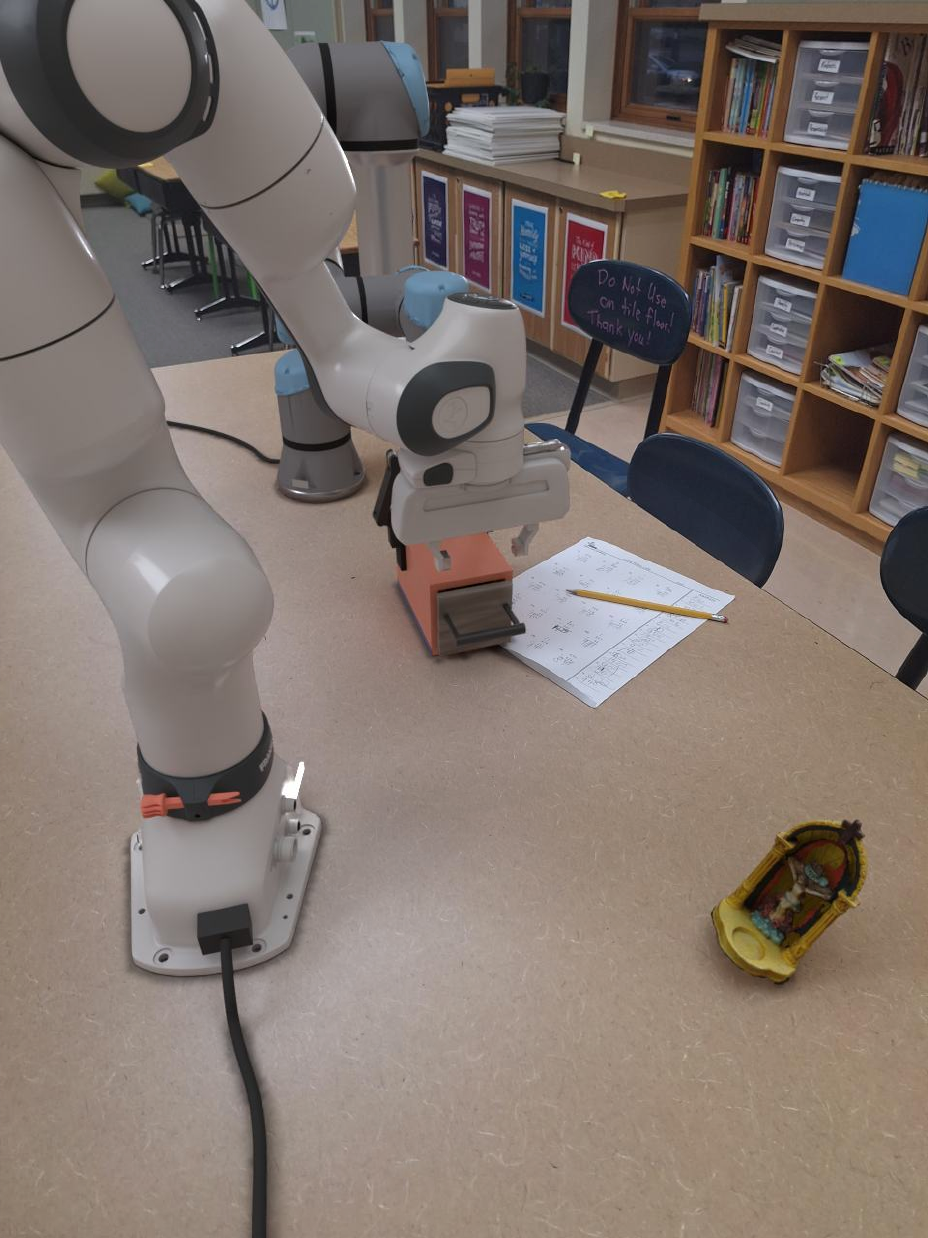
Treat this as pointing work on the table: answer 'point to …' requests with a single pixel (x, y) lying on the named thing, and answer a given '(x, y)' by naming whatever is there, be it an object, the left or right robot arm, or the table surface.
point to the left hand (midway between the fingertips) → (481, 561)
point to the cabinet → (447, 576)
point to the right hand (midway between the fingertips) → (442, 558)
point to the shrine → (792, 897)
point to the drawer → (475, 617)
